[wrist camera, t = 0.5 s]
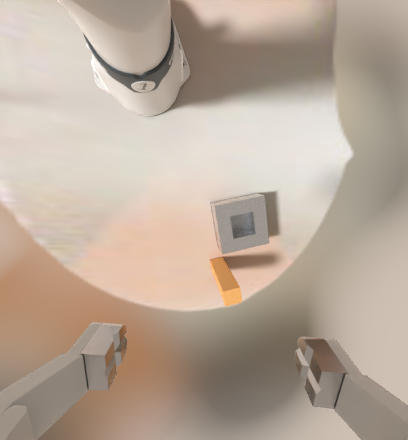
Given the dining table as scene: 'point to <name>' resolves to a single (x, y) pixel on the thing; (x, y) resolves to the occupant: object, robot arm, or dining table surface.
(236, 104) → the dining table surface
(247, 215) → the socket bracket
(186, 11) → the dining table surface
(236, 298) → the rectangular peg
